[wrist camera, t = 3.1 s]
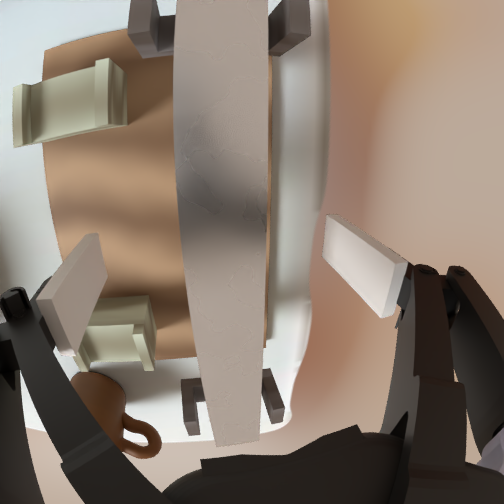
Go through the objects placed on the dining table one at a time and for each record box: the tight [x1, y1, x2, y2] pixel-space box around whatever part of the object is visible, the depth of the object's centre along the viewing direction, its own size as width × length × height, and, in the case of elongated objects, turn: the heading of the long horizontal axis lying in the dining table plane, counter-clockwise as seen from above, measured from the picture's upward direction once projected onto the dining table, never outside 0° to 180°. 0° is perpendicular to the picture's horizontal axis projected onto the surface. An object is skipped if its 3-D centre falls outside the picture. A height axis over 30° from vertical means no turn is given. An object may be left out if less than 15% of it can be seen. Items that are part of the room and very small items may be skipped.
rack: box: [12, 0, 311, 436], centre depth 16 cm, size 30×18×12 cm, turn 0°
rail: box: [173, 0, 268, 447], centre depth 13 cm, size 28×3×3 cm, turn 0°
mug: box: [70, 372, 162, 459], centre depth 24 cm, size 12×8×9 cm, turn 77°
